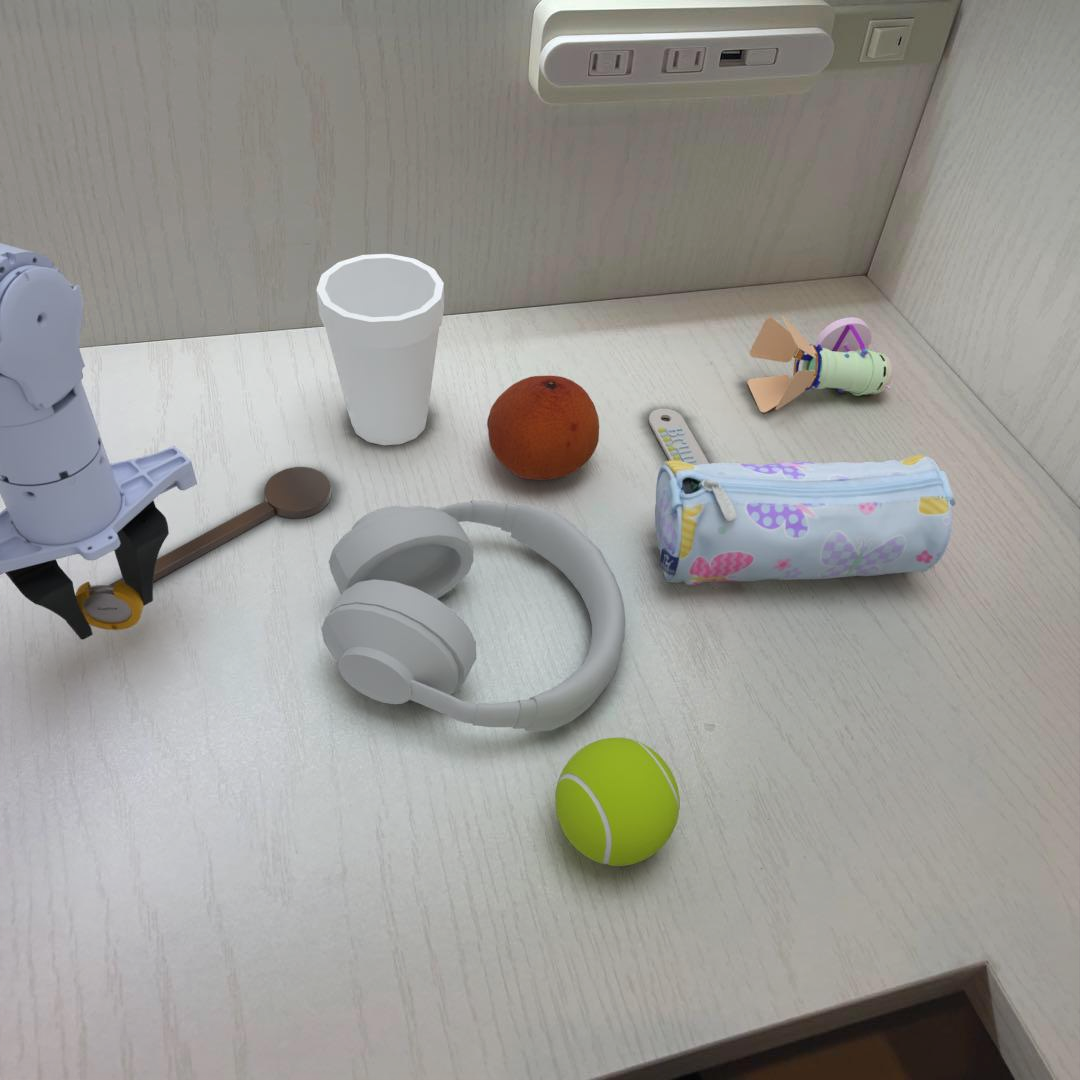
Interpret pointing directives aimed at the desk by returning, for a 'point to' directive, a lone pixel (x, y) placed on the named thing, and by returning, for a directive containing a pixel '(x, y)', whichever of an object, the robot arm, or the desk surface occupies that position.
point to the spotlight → (819, 362)
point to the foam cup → (383, 341)
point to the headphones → (437, 631)
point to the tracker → (110, 605)
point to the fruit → (543, 427)
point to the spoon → (256, 514)
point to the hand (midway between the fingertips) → (110, 611)
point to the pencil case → (800, 519)
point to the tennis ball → (617, 801)
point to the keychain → (676, 437)
